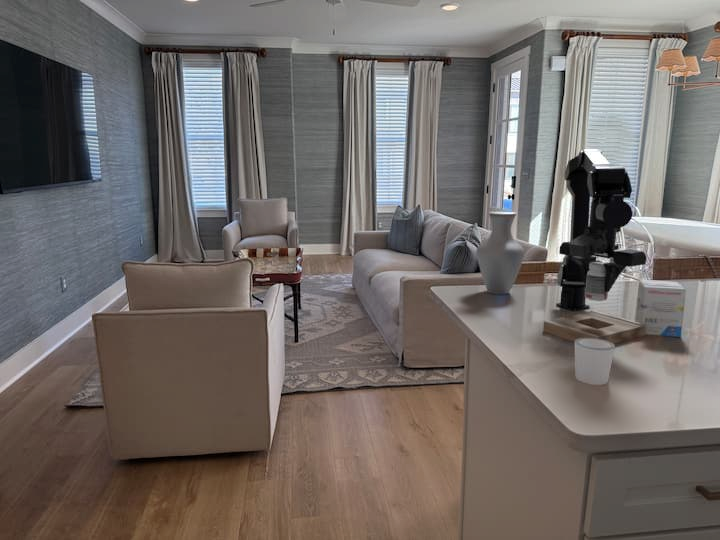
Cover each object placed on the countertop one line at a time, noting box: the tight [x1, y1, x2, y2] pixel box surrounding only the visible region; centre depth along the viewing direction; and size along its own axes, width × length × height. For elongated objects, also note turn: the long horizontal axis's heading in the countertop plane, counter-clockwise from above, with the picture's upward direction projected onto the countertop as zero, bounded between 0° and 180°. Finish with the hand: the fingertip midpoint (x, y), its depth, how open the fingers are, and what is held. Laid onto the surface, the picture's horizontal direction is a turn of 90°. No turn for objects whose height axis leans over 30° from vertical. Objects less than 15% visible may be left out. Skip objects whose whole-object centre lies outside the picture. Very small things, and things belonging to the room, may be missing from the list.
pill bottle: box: [585, 261, 609, 302], centre depth 119 cm, size 5×5×8 cm
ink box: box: [634, 278, 687, 338], centre depth 122 cm, size 9×8×12 cm
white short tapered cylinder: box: [574, 338, 616, 386], centre depth 95 cm, size 7×7×7 cm
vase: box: [476, 211, 526, 296], centre depth 158 cm, size 14×14×25 cm
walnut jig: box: [542, 309, 646, 345], centre depth 121 cm, size 18×14×3 cm
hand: (597, 289), depth 119 cm, fingers closed on pill bottle, 5 cm apart
